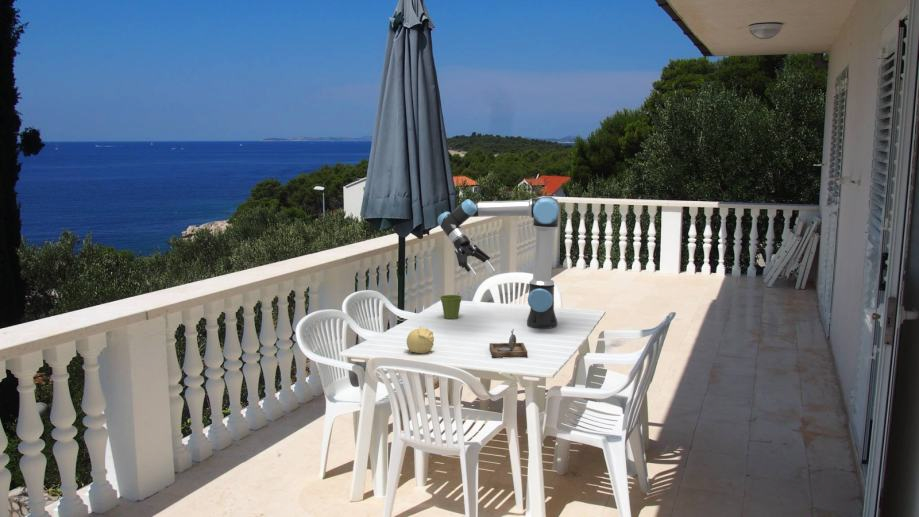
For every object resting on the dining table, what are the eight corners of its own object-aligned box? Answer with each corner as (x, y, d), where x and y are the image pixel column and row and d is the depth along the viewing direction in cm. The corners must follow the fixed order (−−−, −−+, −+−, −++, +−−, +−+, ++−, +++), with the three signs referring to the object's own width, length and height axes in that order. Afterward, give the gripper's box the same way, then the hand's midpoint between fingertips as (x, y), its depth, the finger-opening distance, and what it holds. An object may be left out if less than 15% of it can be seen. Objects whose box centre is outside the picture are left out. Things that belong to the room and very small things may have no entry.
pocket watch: (495, 349, 331) (495, 326, 329) (514, 348, 332) (514, 325, 330) (499, 354, 323) (499, 331, 321) (518, 353, 324) (518, 330, 322)
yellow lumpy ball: (431, 355, 325) (430, 331, 323) (404, 354, 327) (403, 330, 325) (436, 348, 336) (436, 325, 334) (410, 347, 338) (409, 324, 336)
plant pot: (466, 316, 398) (466, 295, 396) (454, 321, 388) (454, 299, 386) (448, 314, 404) (447, 293, 403) (435, 318, 394) (435, 297, 393)
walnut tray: (523, 348, 335) (523, 342, 335) (527, 357, 320) (527, 351, 320) (489, 348, 335) (489, 343, 334) (492, 358, 320) (492, 352, 320)
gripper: (472, 242, 372) (496, 275, 364) (437, 247, 354) (461, 282, 346) (480, 232, 368) (504, 265, 360) (445, 237, 349) (470, 272, 342)
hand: (483, 274), depth 353 cm, fingers open, 13 cm apart
